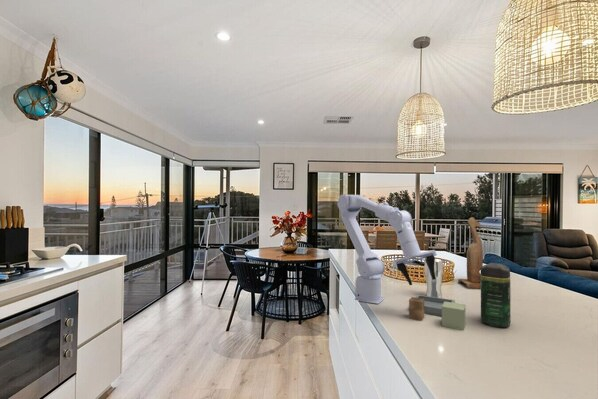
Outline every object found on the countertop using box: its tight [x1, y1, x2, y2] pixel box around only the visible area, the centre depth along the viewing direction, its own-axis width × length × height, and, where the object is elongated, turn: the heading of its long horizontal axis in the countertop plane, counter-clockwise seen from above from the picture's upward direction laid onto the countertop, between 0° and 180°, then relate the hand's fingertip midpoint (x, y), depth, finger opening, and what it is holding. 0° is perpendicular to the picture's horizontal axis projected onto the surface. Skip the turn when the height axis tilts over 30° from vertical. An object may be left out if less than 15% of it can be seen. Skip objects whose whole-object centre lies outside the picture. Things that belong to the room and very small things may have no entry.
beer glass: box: [424, 258, 444, 298], centre depth 123 cm, size 7×7×15 cm
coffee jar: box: [480, 262, 512, 328], centre depth 96 cm, size 10×8×19 cm
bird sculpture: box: [457, 216, 484, 290], centre depth 140 cm, size 11×12×32 cm
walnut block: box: [408, 296, 425, 322], centre depth 100 cm, size 4×4×6 cm
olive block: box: [441, 301, 467, 331], centre depth 94 cm, size 6×6×6 cm
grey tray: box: [414, 294, 456, 317], centre depth 109 cm, size 13×13×2 cm
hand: (422, 282), depth 101 cm, fingers open, 7 cm apart
